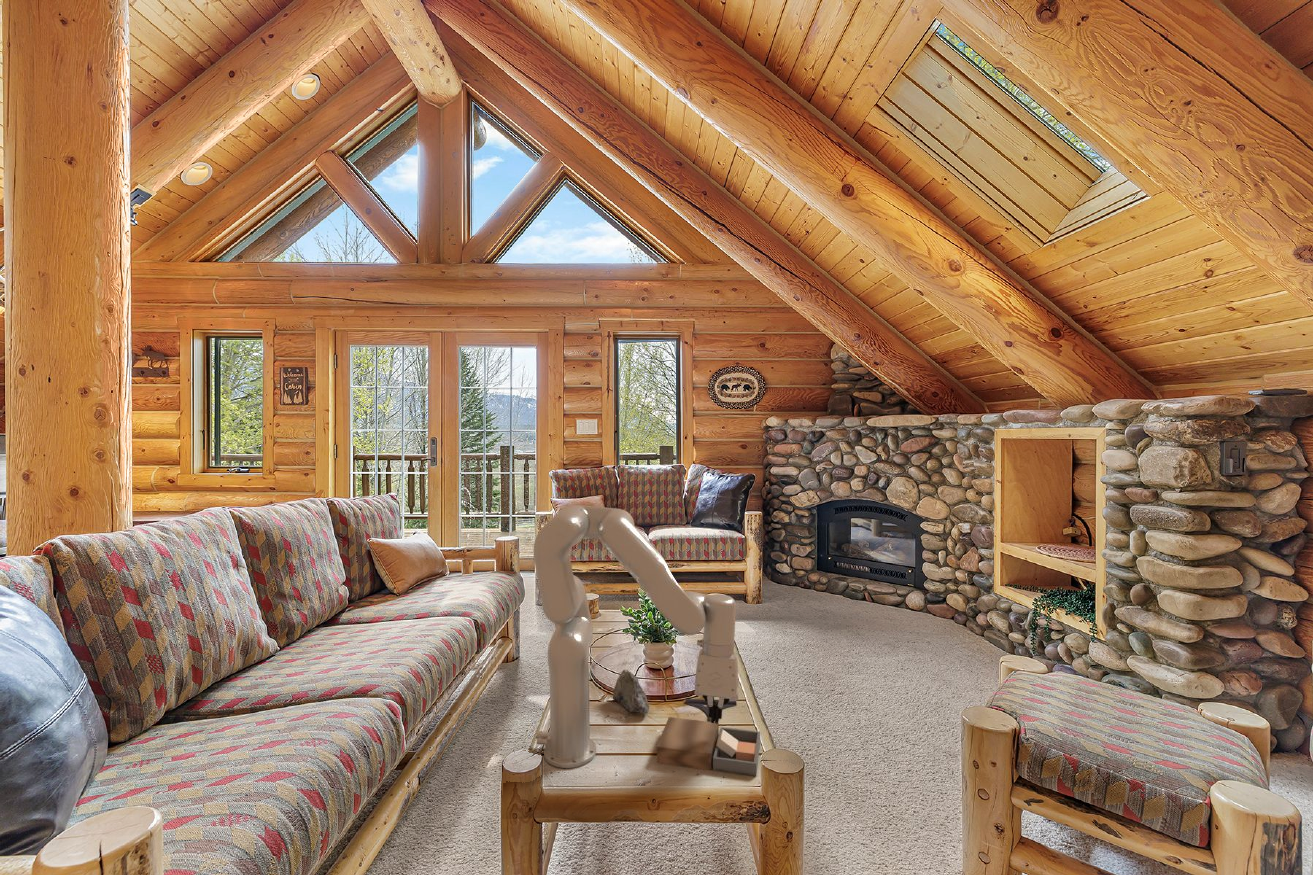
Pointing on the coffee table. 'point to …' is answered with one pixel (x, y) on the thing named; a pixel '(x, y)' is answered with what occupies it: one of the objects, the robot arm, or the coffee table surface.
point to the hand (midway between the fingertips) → (715, 720)
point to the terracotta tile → (745, 751)
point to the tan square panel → (688, 743)
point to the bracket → (700, 702)
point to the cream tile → (727, 743)
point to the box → (729, 763)
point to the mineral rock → (630, 693)
